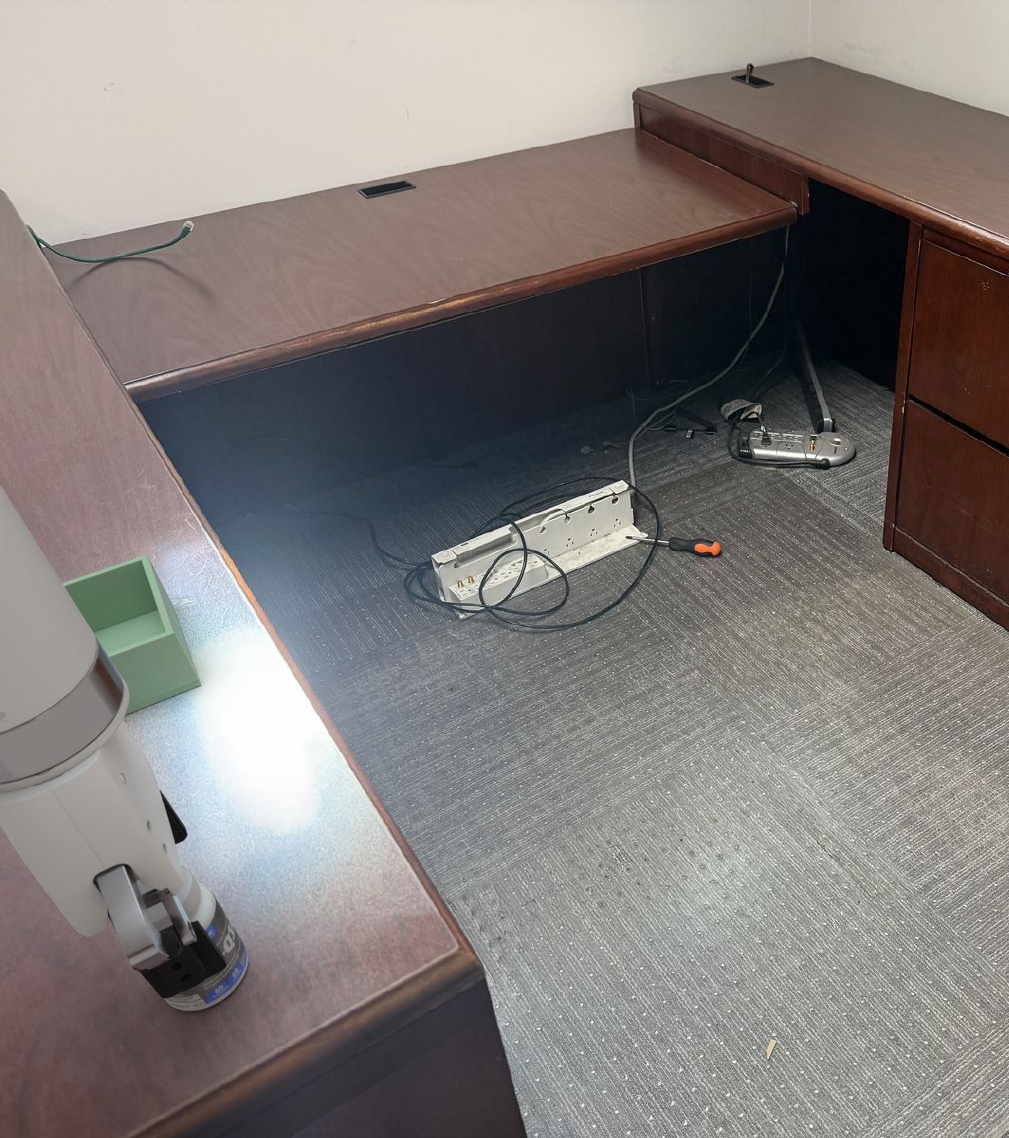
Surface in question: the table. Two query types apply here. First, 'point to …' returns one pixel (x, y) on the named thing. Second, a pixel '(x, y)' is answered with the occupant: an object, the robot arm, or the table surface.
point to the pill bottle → (220, 930)
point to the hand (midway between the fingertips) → (176, 910)
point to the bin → (137, 630)
